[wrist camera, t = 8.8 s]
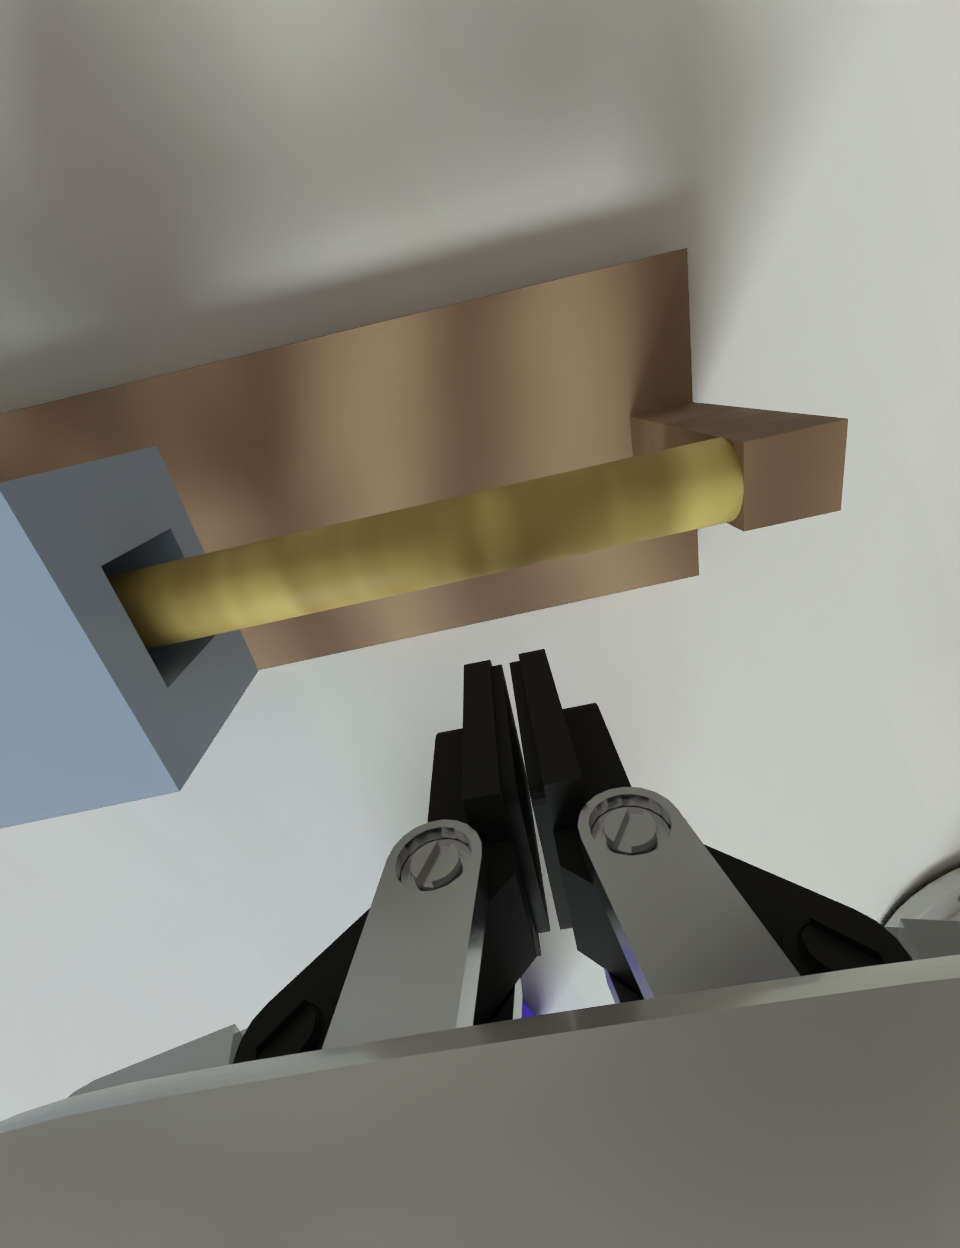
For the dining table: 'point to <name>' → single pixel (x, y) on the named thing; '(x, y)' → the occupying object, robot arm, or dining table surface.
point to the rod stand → (441, 467)
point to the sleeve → (99, 644)
